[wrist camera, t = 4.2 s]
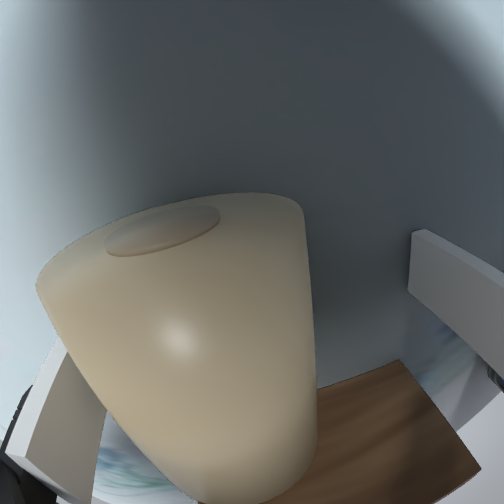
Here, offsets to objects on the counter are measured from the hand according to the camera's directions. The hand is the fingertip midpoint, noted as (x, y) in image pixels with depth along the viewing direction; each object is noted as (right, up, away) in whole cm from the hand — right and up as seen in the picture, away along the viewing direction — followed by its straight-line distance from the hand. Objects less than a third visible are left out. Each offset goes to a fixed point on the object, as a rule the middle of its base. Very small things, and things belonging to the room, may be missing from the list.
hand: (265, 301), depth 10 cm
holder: (+3, -11, +5) cm, 12 cm away
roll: (-2, -1, -3) cm, 4 cm away
